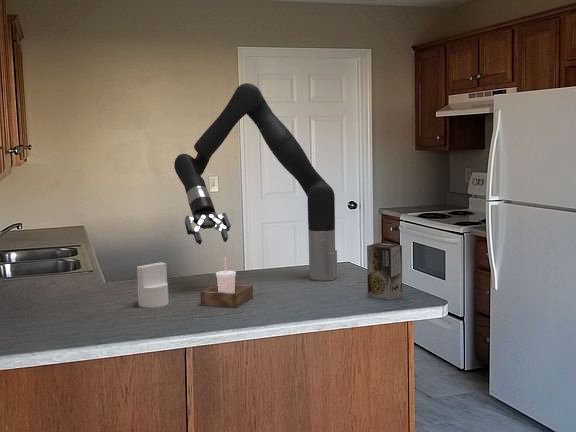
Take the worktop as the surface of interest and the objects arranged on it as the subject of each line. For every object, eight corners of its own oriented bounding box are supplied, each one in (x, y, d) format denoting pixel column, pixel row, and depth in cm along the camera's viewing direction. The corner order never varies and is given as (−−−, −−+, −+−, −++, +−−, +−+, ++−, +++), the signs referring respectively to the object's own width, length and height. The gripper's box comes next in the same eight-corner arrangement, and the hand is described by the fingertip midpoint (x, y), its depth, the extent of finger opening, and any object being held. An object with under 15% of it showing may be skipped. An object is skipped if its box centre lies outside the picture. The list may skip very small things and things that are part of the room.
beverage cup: (213, 303, 200) (211, 257, 198) (222, 298, 205) (220, 254, 204) (231, 304, 198) (230, 258, 196) (240, 299, 203) (238, 254, 202)
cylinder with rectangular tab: (157, 298, 207) (155, 261, 206) (174, 303, 201) (172, 264, 199) (132, 304, 201) (130, 265, 199) (149, 309, 195) (147, 269, 193)
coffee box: (403, 296, 202) (403, 244, 200) (391, 300, 198) (391, 247, 196) (378, 292, 208) (378, 242, 206) (366, 296, 204) (366, 244, 202)
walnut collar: (253, 297, 205) (252, 285, 204) (237, 307, 194) (236, 294, 193) (218, 295, 209) (217, 283, 208) (200, 305, 198) (200, 292, 197)
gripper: (181, 197, 213) (193, 236, 204) (223, 194, 219) (236, 232, 210) (177, 211, 218) (189, 250, 210) (218, 208, 225) (231, 246, 216)
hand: (213, 241), depth 210 cm, fingers open, 8 cm apart
